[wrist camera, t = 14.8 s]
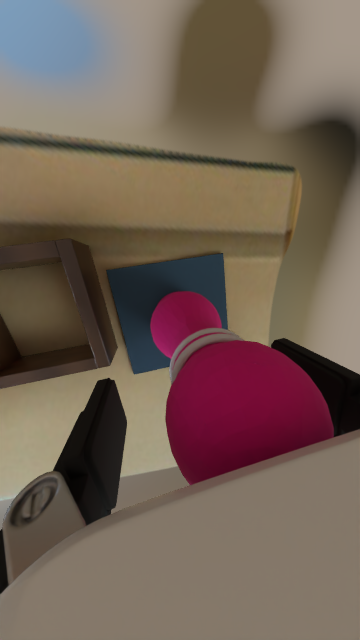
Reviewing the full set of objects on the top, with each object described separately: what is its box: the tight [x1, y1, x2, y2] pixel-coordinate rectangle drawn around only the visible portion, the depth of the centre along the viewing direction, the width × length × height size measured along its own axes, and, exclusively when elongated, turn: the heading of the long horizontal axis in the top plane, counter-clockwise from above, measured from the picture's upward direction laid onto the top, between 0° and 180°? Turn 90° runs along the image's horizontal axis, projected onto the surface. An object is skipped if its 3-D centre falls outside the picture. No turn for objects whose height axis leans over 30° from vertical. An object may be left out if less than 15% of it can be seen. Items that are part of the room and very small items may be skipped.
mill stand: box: [0, 239, 118, 389], centre depth 18 cm, size 13×13×4 cm
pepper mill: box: [150, 291, 334, 485], centre depth 12 cm, size 7×7×20 cm
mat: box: [106, 253, 228, 374], centre depth 22 cm, size 14×14×1 cm
